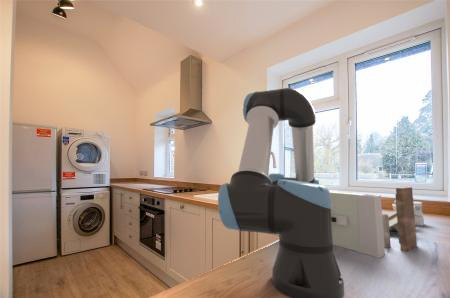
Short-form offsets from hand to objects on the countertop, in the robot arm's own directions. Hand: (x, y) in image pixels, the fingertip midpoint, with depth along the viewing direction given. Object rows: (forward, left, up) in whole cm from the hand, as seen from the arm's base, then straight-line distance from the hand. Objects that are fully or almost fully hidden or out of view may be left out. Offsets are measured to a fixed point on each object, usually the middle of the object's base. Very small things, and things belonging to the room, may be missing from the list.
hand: (350, 220), depth 75 cm
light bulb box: (+56, +22, -9) cm, 61 cm away
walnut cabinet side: (+17, -3, -9) cm, 20 cm away
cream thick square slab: (0, 0, -9) cm, 9 cm away
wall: (+33, +14, -9) cm, 36 cm away
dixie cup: (+46, +17, -9) cm, 50 cm away
